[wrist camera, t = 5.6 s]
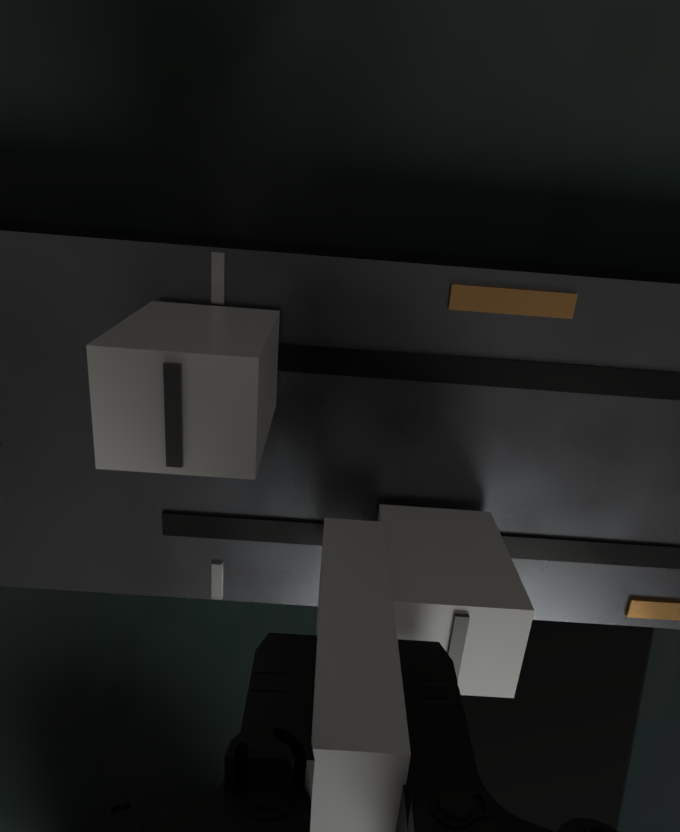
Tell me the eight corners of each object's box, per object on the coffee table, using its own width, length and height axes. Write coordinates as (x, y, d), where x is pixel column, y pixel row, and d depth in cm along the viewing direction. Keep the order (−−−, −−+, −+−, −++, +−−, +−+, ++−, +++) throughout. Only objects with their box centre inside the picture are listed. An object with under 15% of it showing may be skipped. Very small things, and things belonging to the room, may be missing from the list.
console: (8, 545, 20) (-69, 632, 16) (-38, 217, 16) (-153, 231, 12) (862, 601, 20) (980, 696, 17) (1006, 300, 17) (1197, 336, 13)
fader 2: (370, 578, 17) (379, 693, 13) (379, 504, 16) (391, 604, 13) (476, 585, 17) (515, 701, 13) (490, 511, 16) (536, 613, 13)
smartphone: (674, 529, 19) (614, 852, 25) (663, 518, 20) (608, 836, 25) (440, 538, 19) (432, 859, 25) (437, 527, 20) (430, 842, 25)
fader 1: (155, 397, 15) (93, 471, 11) (152, 301, 14) (83, 346, 11) (276, 406, 15) (254, 482, 12) (279, 310, 14) (258, 359, 11)
